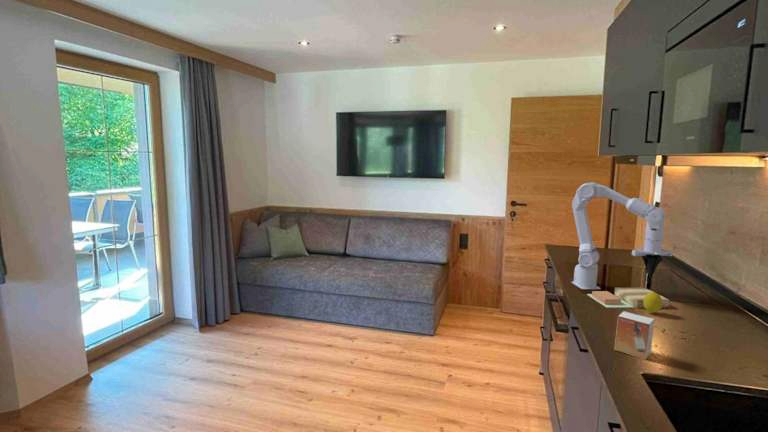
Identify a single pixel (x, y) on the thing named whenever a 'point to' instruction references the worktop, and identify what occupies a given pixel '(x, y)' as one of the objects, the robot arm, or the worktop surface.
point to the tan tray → (637, 296)
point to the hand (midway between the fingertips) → (649, 273)
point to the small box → (634, 335)
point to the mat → (622, 305)
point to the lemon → (652, 302)
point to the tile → (606, 297)
